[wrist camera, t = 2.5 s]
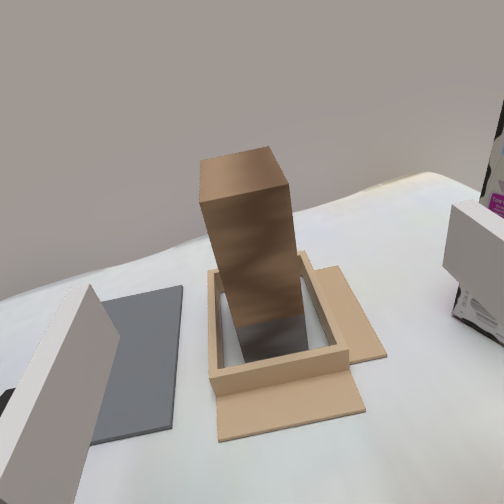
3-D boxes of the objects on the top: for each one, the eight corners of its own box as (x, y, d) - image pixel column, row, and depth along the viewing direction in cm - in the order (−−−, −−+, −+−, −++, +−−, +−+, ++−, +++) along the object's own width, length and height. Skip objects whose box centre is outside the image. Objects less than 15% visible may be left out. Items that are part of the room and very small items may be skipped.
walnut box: (245, 363, 27) (199, 202, 19) (238, 303, 32) (200, 160, 25) (308, 350, 27) (288, 183, 19) (289, 292, 32) (268, 146, 25)
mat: (-2, 464, 23) (-5, 461, 23) (70, 311, 36) (68, 308, 36) (171, 428, 23) (170, 425, 23) (183, 287, 36) (182, 284, 36)
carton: (218, 442, 22) (209, 421, 21) (212, 272, 37) (207, 253, 36) (411, 401, 22) (415, 378, 21) (327, 248, 37) (326, 228, 36)
